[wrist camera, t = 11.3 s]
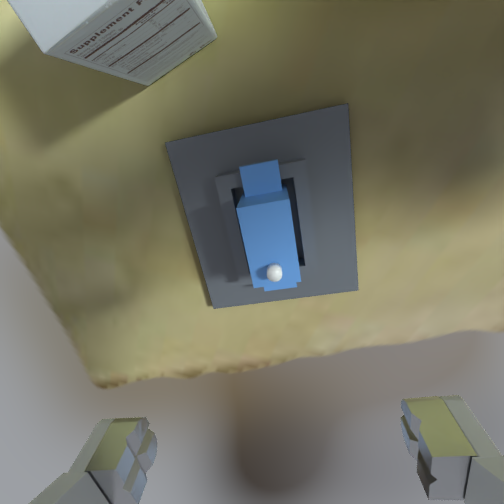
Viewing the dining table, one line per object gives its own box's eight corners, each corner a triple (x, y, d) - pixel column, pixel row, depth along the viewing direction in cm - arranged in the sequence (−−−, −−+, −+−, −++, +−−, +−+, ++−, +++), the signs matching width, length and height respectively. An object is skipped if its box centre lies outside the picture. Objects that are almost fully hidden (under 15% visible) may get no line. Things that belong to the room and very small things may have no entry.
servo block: (281, 155, 25) (285, 165, 19) (298, 273, 30) (306, 313, 23) (237, 164, 26) (226, 176, 19) (261, 278, 30) (258, 319, 24)
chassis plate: (345, 104, 24) (354, 101, 22) (356, 285, 31) (363, 300, 28) (168, 142, 26) (157, 143, 24) (215, 303, 33) (210, 319, 31)
